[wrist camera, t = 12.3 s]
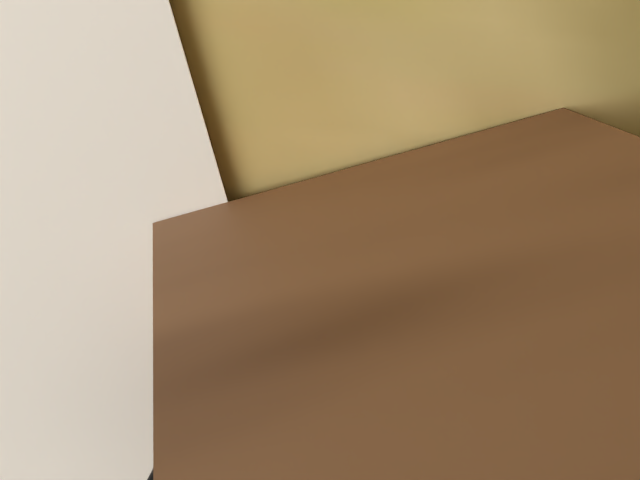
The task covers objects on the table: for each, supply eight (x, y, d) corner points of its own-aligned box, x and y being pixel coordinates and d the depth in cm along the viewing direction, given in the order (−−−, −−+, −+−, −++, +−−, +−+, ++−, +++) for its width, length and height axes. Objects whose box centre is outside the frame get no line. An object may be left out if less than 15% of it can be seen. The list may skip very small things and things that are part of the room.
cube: (561, 409, 11) (908, 798, 6) (260, 516, 11) (366, 1065, 5) (563, 107, 9) (1210, 354, 3) (152, 222, 8) (153, 786, 3)
